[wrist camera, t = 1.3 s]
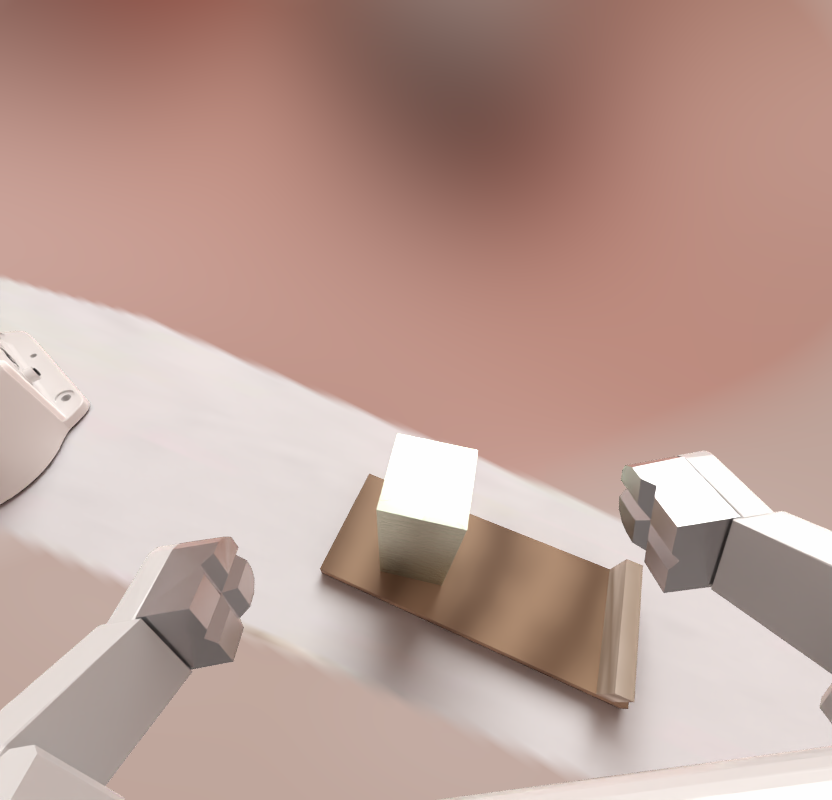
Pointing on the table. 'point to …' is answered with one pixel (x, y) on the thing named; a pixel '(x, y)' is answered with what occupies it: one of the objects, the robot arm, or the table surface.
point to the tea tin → (424, 507)
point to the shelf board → (511, 599)
